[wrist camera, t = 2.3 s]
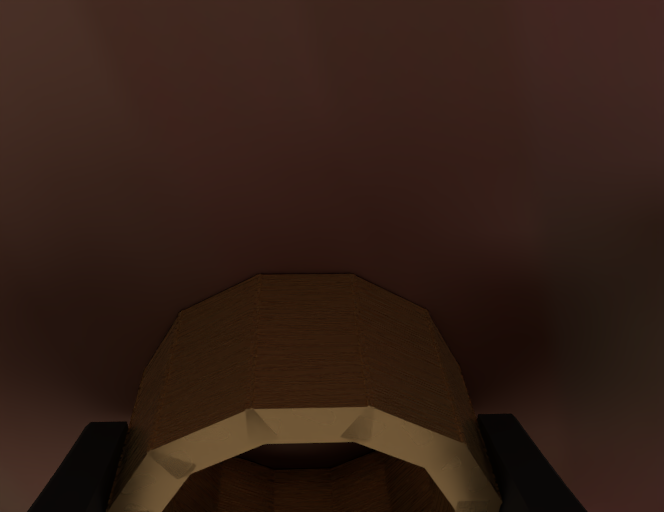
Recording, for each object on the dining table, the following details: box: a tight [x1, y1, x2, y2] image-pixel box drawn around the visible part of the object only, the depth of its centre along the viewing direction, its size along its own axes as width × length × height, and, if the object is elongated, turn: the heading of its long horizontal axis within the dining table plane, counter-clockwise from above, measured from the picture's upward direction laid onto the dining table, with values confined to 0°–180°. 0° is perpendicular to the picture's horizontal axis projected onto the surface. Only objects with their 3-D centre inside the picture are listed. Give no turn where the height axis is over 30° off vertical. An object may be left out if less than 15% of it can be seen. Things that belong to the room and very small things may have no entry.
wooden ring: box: [106, 273, 503, 512], centre depth 11 cm, size 6×6×3 cm
